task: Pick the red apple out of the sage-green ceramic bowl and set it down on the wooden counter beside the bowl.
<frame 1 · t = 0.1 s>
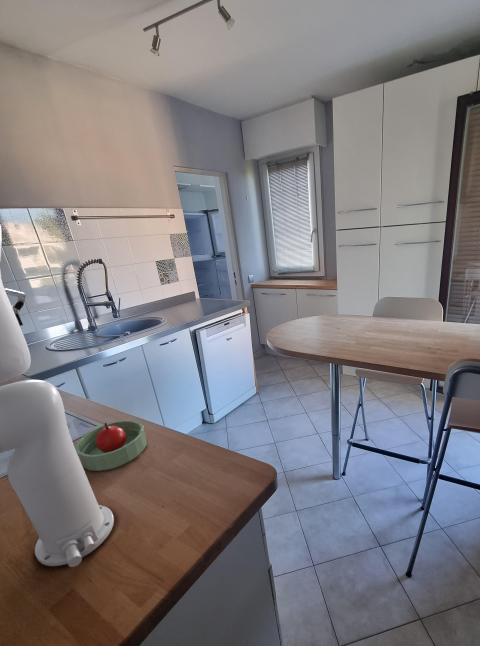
apple: (115, 450, 85), point 1 cm above the counter, touching bowl
bowl: (116, 452, 86), on the counter
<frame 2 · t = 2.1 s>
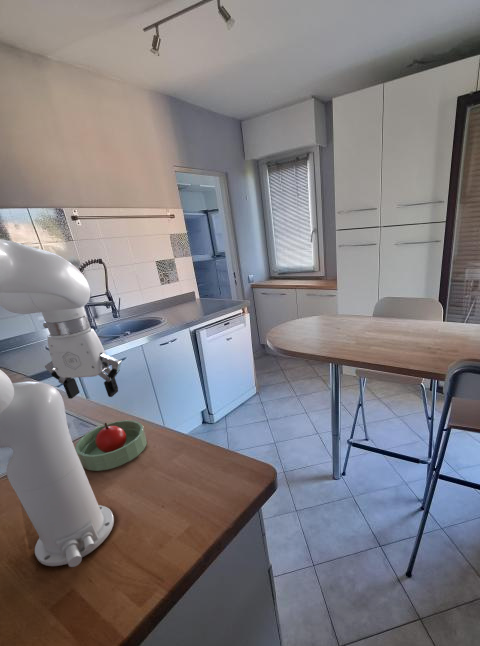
hand: (94, 395, 79), 17 cm above the counter, tool pointing down, fingers open, 9 cm apart
nothing on the counter moved.
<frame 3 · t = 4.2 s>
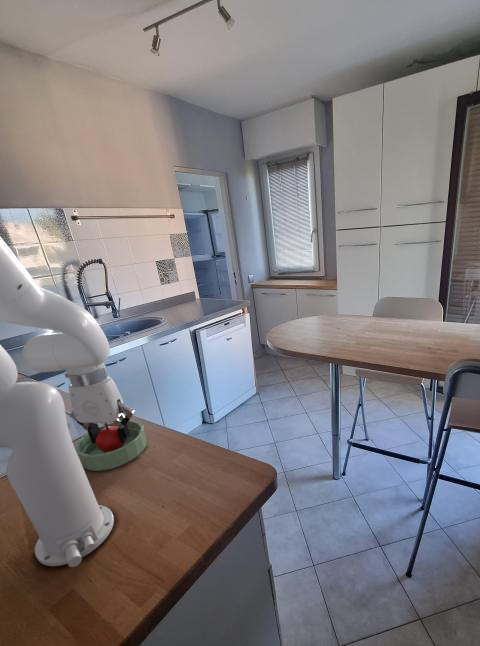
hand: (111, 439, 84), 4 cm above the counter, tool pointing down, fingers closed on apple, 6 cm apart
apple: (115, 450, 85), point 1 cm above the counter, touching bowl, gripper
everything else where it was.
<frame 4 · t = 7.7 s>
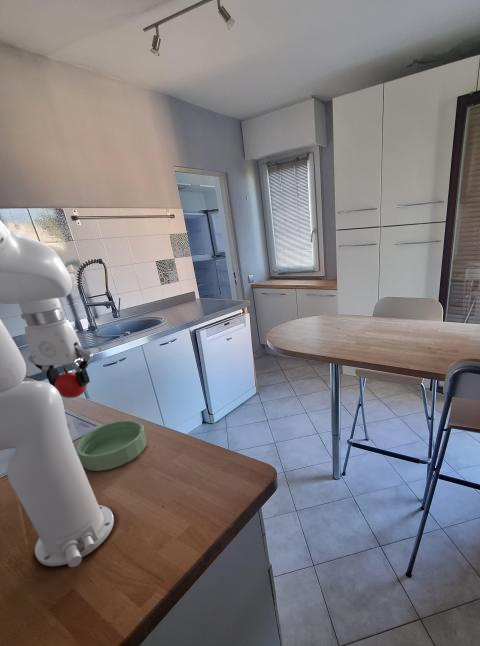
hand: (71, 384, 85), 17 cm above the counter, tool pointing down, fingers closed on apple, 6 cm apart
apple: (75, 396, 87), point 14 cm above the counter, touching gripper
everything else where it was.
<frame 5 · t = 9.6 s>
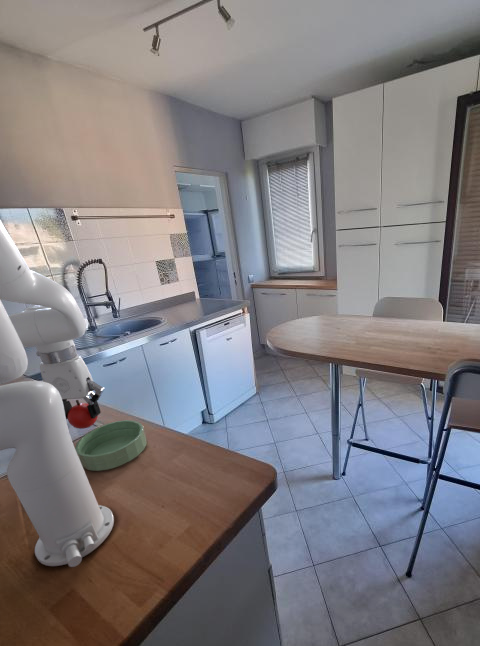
hand: (82, 415, 89), 8 cm above the counter, tool pointing down, fingers closed on apple, 6 cm apart
apple: (86, 426, 91), point 4 cm above the counter, touching gripper
everything else where it was.
when the fingers open (3 cm above the counter, at t = 11.2 s): apple stays where it is, on the counter.
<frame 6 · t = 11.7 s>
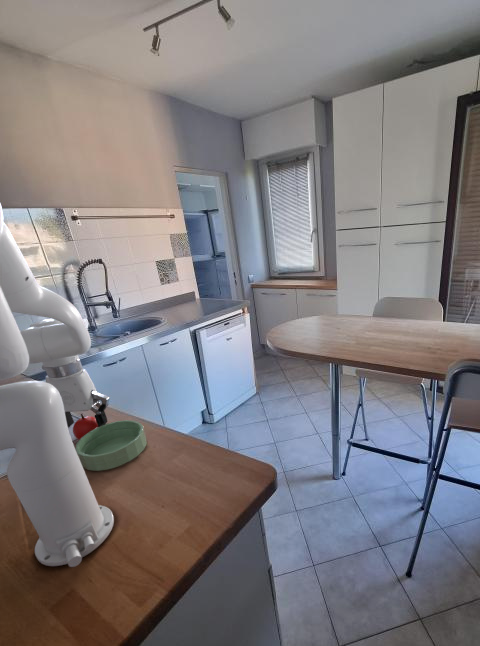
hand: (86, 425, 91), 4 cm above the counter, tool pointing down, fingers open, 9 cm apart
apple: (91, 439, 92), on the counter
everything else where it was.
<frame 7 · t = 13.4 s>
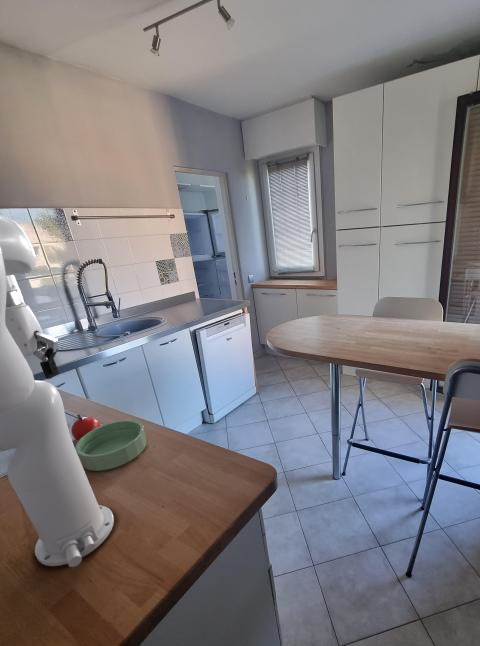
hand: (33, 377, 75), 23 cm above the counter, tool pointing down, fingers open, 9 cm apart
apple: (91, 438, 92), on the counter, tilted 6°
everything else where it was.
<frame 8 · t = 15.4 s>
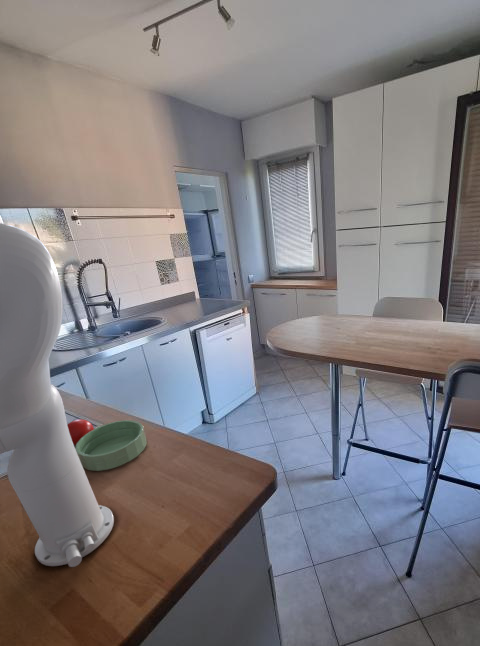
apple: (90, 437, 92), point 1 cm above the counter, tilted 35°
everything else where it was.
at the end: apple inside the target area (0.1 cm from its centre), point 0.6 cm above the counter; apple 12.5 cm from the bowl (horizontally); the gripper is holding nothing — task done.
